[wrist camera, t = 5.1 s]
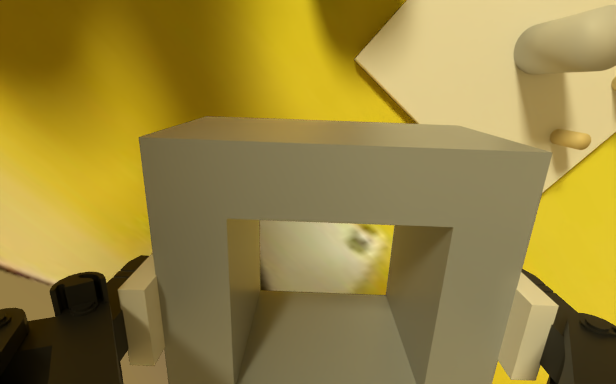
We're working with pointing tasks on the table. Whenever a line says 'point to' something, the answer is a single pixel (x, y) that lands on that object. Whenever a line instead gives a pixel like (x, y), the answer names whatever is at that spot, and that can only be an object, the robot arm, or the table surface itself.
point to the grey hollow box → (338, 209)
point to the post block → (505, 70)
